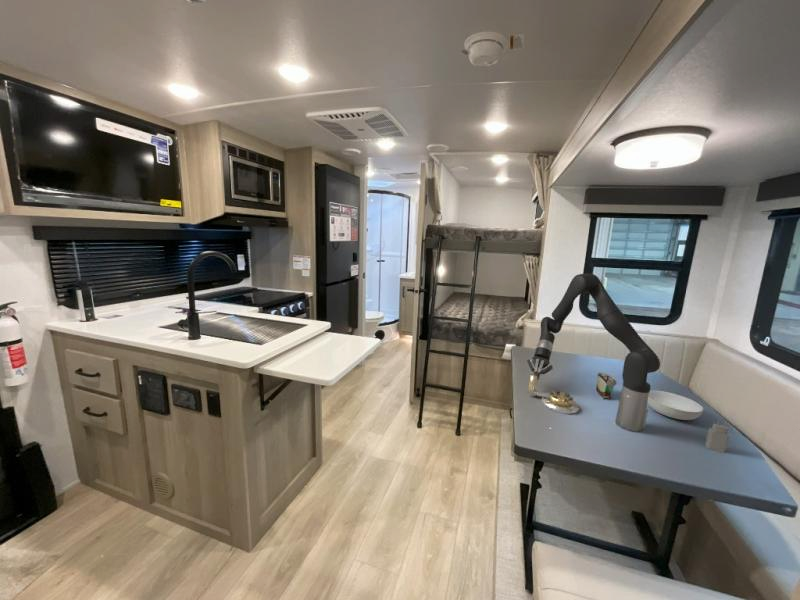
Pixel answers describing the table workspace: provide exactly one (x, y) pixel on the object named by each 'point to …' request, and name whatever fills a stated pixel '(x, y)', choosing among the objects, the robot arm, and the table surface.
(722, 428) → the power adapter
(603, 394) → the food container
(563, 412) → the plate
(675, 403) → the serving bowl
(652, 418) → the table surface
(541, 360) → the robot arm
